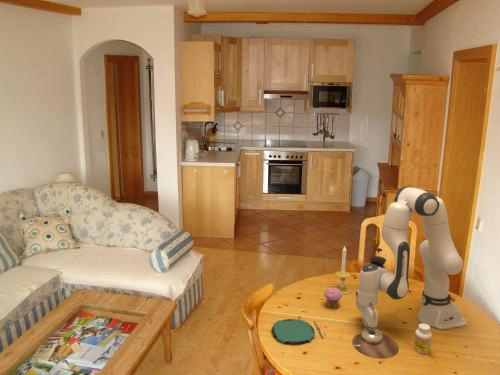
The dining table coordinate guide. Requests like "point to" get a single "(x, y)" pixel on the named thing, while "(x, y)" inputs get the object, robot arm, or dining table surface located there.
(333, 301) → the cupcake
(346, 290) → the candle
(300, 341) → the cutlery set
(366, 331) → the cover
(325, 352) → the dining table surface
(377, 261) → the french press
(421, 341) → the supplement bottle
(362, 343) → the platter
